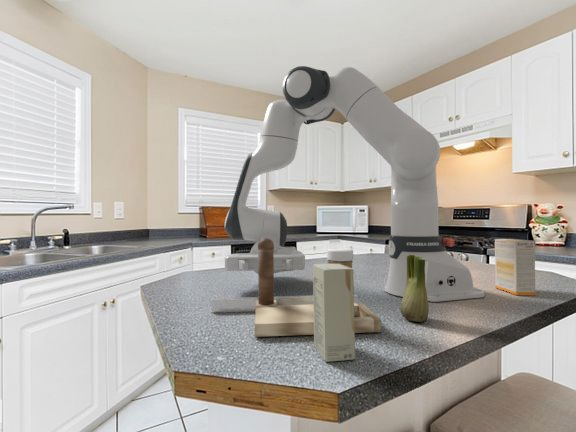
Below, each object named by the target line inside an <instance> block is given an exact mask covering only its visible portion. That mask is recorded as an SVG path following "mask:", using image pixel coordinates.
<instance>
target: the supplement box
mask: <svg viewBox="0 0 576 432" xmlns="http://www.w3.org/2000/svg"><path fill="white" fill-rule="evenodd" d="M535 243H536V241H535V240H530V239H529V240H528V239H527V240H526V239H517V238H494V273H495V274H494V275H495V277H494V278H495V280H494V282H495V284H494V285H495V286H494V287H495V289H497V288H498V289H497V290H500V289H501V290H500V291H503V290H504V291H503V292H506V291H507V292H506V293H509V292H510V293H509V294H512V295H515V296H536V252H535V251H536V248H535V247H536V245H535Z"/></svg>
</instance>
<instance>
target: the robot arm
mask: <svg viewBox="0 0 576 432" xmlns="http://www.w3.org/2000/svg"><path fill="white" fill-rule="evenodd" d="M282 92H283V93H282V94H283V95H284V99H276V100H274V101H271V102H269V104H268V106H267V108H266V112H265V114H264V119H263V122H262V125H261V126H262V127H261V133H260V138H259V139H260V140H259V142H258V145H257V146H256V148H255V150H254V151H253V152H251V153H249V154H248V155H247V156H246V158H245V160H244V163H243V166H242V169H241V172H240V175H239V178H238V181H237V185H236V189H235V192H234V193H233V194H234V195H233V198H232V202H231V205H230V208H229V210H228V211H227V213H226V217H225V219H224V232H225V233H226V234H227V235H228V237H230V239H232V241H245V240H246V241H252V242H255V243H254V244H253V245H252V247H251V249H250V252H248V253H245V252H244V253H243V252H242V253H230V254H227V255H225V258H224V270H225V271H227V272H249V271H250V272H251V271H253V272H254V273H256V274H257V275H258V243H259V241H260V240H261V239H263V238H268V239H270V240H272V241H273V243H274V274H277V273H281V272H282V273H283V272H291V271H302V270H305V268H306V255H305V253H303V252H301V251H299V250H297V248H296V247H295V246H289V245H285V244H286V241H287V236H288V223H287V222H288V221H287V219H286V217H285V215H284V214H283V213H282V212H281V211H276V210H270V209H268V210H267V209H258V208H251V207H248V206H247V205H246V204H247V200H248V198H249V195H250V190H251V187H252V184H253V181H254V180H255V179H256V178H257V177H258V176H260V175H263V174H266V173H270V172H274V171H279V170H282V169H284V168H286V167H287V166H289V165H290V164H291V163H293V161H294V160H295V157H296V154H297V149H298V145H299V143H298V142H299V137H300V130H301V127H302V124H304V125H311V124H314V123H318V122H319V123H321V122H324V121H326V120H328V119H330V118H331V117H332V116H333V115H334V113H335V111H338V112H339V113H340V114H341V115H342V116H343V117H344V118H345V120H346V121H347V122H348V123H350V125H351V126H352V127H353V128H354V129H355V131H357V133H358V134H359V135H360V136H361V138H363V139H364V140H365V141H366V143H368V144H369V145H370V146H371V147H372V148H373V149H374V150H375V151H376V152H377V153H378V154H379V155H380V156H381V157H382V158H383V159H384V160H385V161H386V162H387V164H389V166H390V168H391V170H390V171H391V172H390V173H391V175H390V179H391V181H390V235H388V236H389V237H388V255H389V258H390V259H389V267H388V268H389V269H388V275H387V279H386V283H385V285H384V286H385V287H384V291H385V292H386V293H388V294H391V295H394V296H397V297H402V298H403V297H404V293H405V288H406V282H407V255H415V256H417V257H422V259H425V285H426V293H427V298H428V302H432V303H437V302H439V303H440V302H446V301H447V302H448V301H458V300H469V299H478V298H484V297H485V293H484V292H485V291H483V290H482V289H480V288H478V287H475V286H474V282H473V277H472V273H471V271H470V269H469V268H468V267H467V265H464V264H463V263H462V262H461V261H460V260H458V259H457V258H455V257H454V256H452V255H451V254H450V253H449V252H447V249H446V247H449V248H450V247H451V248H452V247H454V245H456V244H455V243H456V242H455V240H454V238H452V237H451V238H450V237H445V238H443V237H442V236H441V235H439V199H438V197H439V196H438V189H437V188H438V186H437V164H438V163H439V162H440V161H439V160H440V158H441V146H440V143H439V141H438V139H437V138H436V137H435V135H434V134H433V133H431V131H428V130H427V129H426V128H424V127H423V126H422V125H421V124H419V122H418V121H416V120H415V119H413V118H412V117H411V116H409V115H408V114H407V113H406V112H405V111H403V110H402V109H401V108H399V106H398V105H397V104H395V102H393V100H391V99H390V97H389V96H388V95H387V94H386V93H385V92H384V91H383V90H382V89H381V88H380V87H379V86H378V85H377V84H376V83H375V82H373V81H372V80H371V79H370V78H369V77H368V76H366V75H365V74H364V73H362V72H361V71H359V70H358V69H356V68H354V67H349V66H347V67H343V68H341V69H339V70H338V71H336V72H335V74H334V75H331V76H329V73H328V72H327V71H326V70H323V69H322V70H321V69H317V68H314V67H311V66H305V65H304V66H303V65H301V66H296V67H293V68H292V69H291V70H289V71H288V73H287V74H286V75H285V77H284V79H283V82H282Z"/></svg>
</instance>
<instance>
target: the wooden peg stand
mask: <svg viewBox="0 0 576 432" xmlns="http://www.w3.org/2000/svg"><path fill="white" fill-rule="evenodd" d="M257 275H258V277H257V278H258V284H257V285H258V297H259V300H258V301H256V311H254V312H255V316H254V337H256V338H258V337H260V338H261V337H279V336H281V337H284V336H285V337H286V336H307V335H313V336H314V304H310V305H277V303H276V300H274V297H275V288H274V287H275V281H274V279H275V278H274V277H275V273H274V243H273V241H272V240H270V239H268V238H263V239H261V240H260V241H259V243H258V274H257ZM354 328H355V334H360V333H362V334H363V333H382V319H381V318H380V317H378V316H377V314H376V313H374V312H373V310H371V309H369V308H368V307H367V306H366V305H365V304H363V302H358V303H354Z"/></svg>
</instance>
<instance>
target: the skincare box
mask: <svg viewBox="0 0 576 432" xmlns="http://www.w3.org/2000/svg"><path fill="white" fill-rule="evenodd" d="M354 279H355V278H354V268H353V267H352V268H350V267H347V266H344V265H341V264H328V263H314V264H312V283H313V284H312V285H313V289H312V290H313V292H312V295H313V296H314V334H313V341H314V342H313V343H314V347H315V348H316V351H318V353H319V355H320V356H321V358H322V360H324V361H325V362H327V363H328V362H337V361H338V362H341V361H342V362H343V361H351V360H352V361H353V360H356V339H355V338H356V336H355V335H356V333H355V328H354V317H355V316H354V294H355V291H354V289H355V287H354V284H355V283H354Z"/></svg>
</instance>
